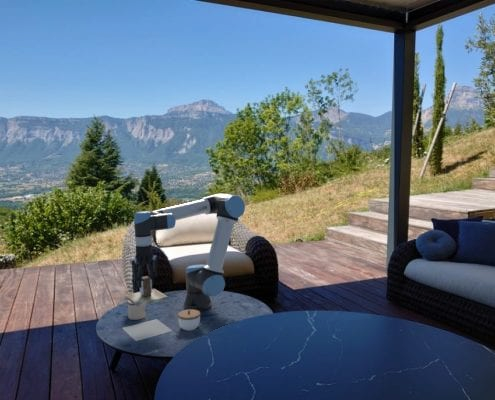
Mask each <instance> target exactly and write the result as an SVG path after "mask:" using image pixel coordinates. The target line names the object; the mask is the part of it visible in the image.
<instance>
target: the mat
mask: <svg viewBox="0 0 495 400" xmlns="http://www.w3.org/2000/svg"><path fill="white" fill-rule="evenodd" d="M121 328H122V330H123V331H124V332H125V333H126V334H128V336H129V337H131V339H133V340H134V341H135V342H138V341H142V340H145V339H149V338H153V337H156V336H159V335H163V334H166V333H169V332H172V331H173V330H172V329H171V328H170V327H168V326H166V325H165V324H164V323H163V322H162V321H161V320H159V319H157V318H155V319H153V320H152V319H151V320H148V321H144V322H140V323H136V324H134V325H133V324H132V325H129V326H124V327H121Z"/></svg>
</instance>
